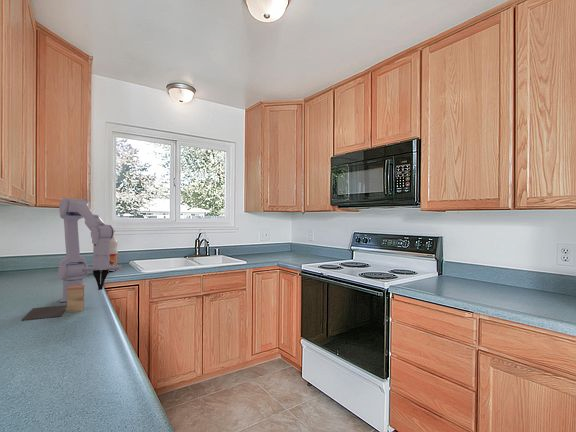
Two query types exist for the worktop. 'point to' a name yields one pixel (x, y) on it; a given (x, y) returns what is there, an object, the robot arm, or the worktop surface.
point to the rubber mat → (45, 312)
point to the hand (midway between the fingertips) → (100, 289)
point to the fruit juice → (113, 251)
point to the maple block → (75, 298)
